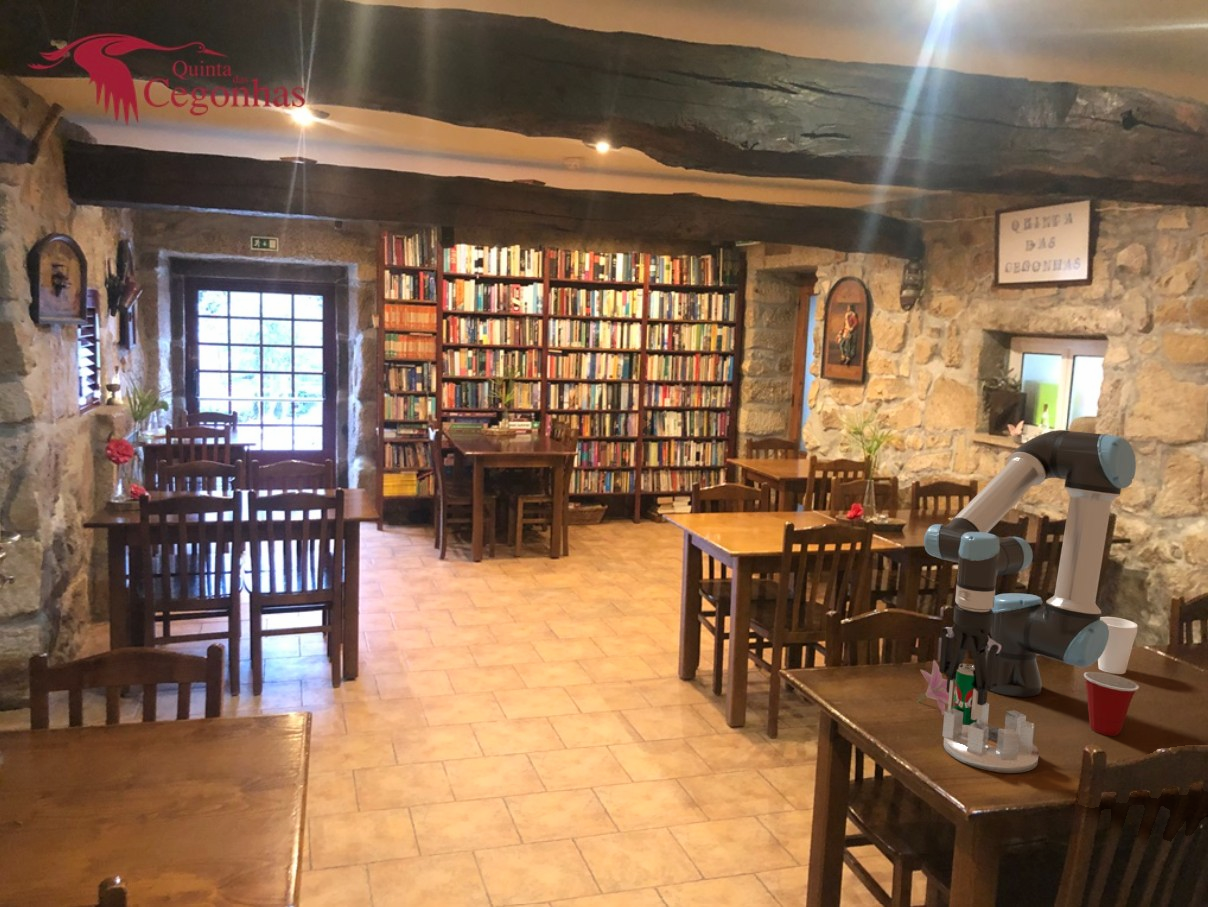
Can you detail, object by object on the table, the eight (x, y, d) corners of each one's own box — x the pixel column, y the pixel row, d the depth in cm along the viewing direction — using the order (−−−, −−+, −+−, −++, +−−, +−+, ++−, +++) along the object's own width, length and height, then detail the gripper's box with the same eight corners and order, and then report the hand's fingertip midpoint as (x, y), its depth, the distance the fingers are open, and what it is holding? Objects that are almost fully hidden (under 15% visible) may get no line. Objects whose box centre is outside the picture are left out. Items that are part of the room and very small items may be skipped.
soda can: (979, 720, 194) (984, 666, 192) (973, 728, 190) (978, 672, 188) (955, 714, 197) (959, 660, 195) (948, 721, 193) (953, 667, 191)
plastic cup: (1145, 738, 199) (1151, 685, 197) (1105, 743, 196) (1111, 689, 194) (1105, 718, 209) (1110, 668, 208) (1067, 722, 206) (1072, 671, 205)
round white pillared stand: (977, 727, 201) (980, 694, 200) (1055, 759, 186) (1059, 724, 185) (925, 744, 191) (928, 710, 190) (1003, 781, 176) (1007, 744, 175)
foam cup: (1139, 677, 237) (1144, 628, 235) (1103, 675, 237) (1108, 627, 235) (1119, 664, 246) (1124, 617, 245) (1085, 662, 246) (1090, 616, 245)
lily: (915, 720, 207) (940, 690, 203) (891, 683, 217) (914, 654, 213) (954, 730, 211) (979, 701, 208) (929, 693, 221) (952, 664, 217)
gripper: (926, 598, 196) (917, 701, 199) (1002, 621, 181) (992, 732, 184) (948, 593, 200) (939, 695, 203) (1024, 615, 185) (1013, 725, 188)
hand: (964, 713), depth 193 cm, fingers closed on soda can, 5 cm apart
